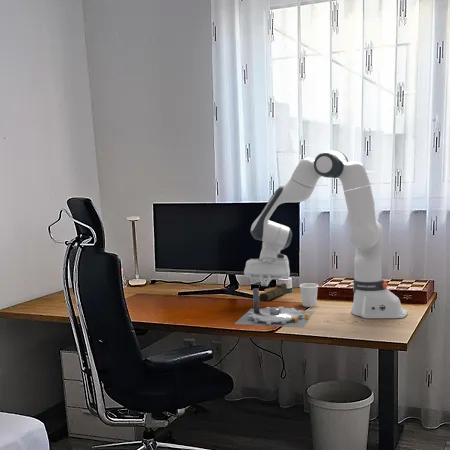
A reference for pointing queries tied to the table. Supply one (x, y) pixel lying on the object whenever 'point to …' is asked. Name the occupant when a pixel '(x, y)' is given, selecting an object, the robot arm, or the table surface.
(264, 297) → the brown wooden log
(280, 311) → the sprocket
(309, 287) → the dixie cup
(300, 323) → the base plate
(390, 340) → the table surface
